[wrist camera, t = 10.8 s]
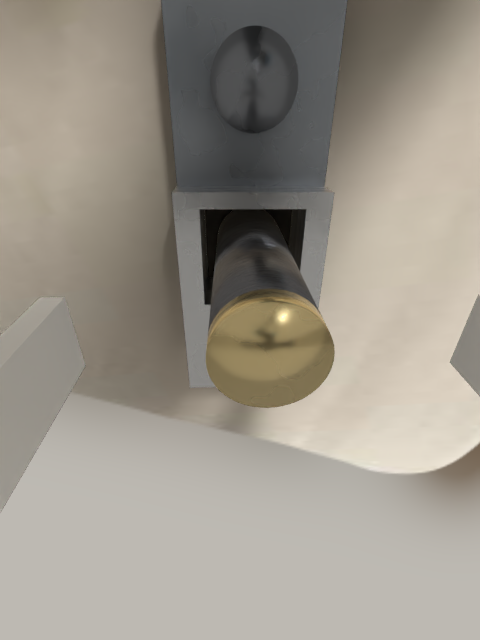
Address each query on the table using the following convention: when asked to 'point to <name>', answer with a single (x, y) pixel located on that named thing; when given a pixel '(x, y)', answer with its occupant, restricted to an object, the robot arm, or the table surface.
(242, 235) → the pin
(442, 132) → the table surface
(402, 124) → the table surface
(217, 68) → the metal block with stud
